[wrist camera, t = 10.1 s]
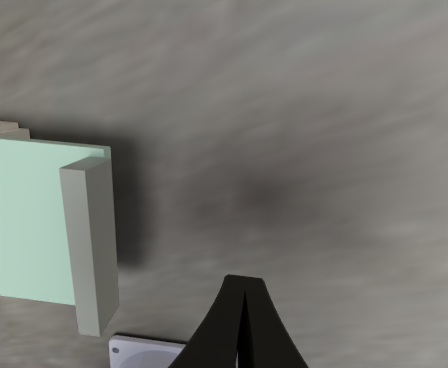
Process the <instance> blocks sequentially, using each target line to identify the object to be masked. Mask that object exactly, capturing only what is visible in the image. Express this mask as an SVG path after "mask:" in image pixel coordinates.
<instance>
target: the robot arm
mask: <svg viewBox="0 0 448 368" xmlns="http://www.w3.org/2000/svg"><path fill="white" fill-rule="evenodd" d="M237 351H238V368H309V367H308V366H307V364H306V363H305V361H304V360H303V358H302V356H301V355H300V353H299V352H298V350H297V348H296V346H295V345H294V343H293V341H292V340H291V338H290V336H289V334H288V333H287V331H286V329H285V327H284V325H283V323H282V321H281V319H280V317H279V315H278V313H277V311H276V309H275V307H274V305H273V303H272V300H271V298H270V296H269V293H268V291H267V288H266V285H265V282H264V281H263V279H262V278H254V277H246V276H238V275H229V274H228V275H226V276H225V278H224V281H223V284H222V287H221V289H220V291H219V293H218V295H217V297H216V299H215V301H214V303H213V305H212V306H211V308H210V310H209V312H208V313H207V315H206V317H205V318H204V320H203V321H202V323H201V324H200V326H199V327H198V329H197V330H196V332H195V333H194V335H193V336H192V338H191V339H190V340H189V342H188V343H187V344H186V345H184V344H177V343H170V342H162V341H155V340H148V339H141V338H133V337H126V336H119V335H114V336H112V337H111V339H110V341H109V355H110V368H236V358H237Z"/></svg>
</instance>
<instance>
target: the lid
mask: <svg viewBox="0 0 448 368" xmlns="http://www.w3.org/2000/svg"><path fill="white" fill-rule="evenodd" d="M0 295H2V296H9V297H17V298H24V299H32V300H40V301H47V302H55V303H62V304H70V305H75V306H76V314H77V322H78V330H79V334H83V335H90V336H97V337H100V336H101V334H102V332H103V331H104V329H105V328H106V326H107V324H108V323H109V321H110V319H111V318H112V316H113V315H114V313H115V311H116V310H117V308H118V306H119V288H118V271H117V254H116V236H115V219H114V201H113V184H112V167H111V149H110V146H100V145H89V144H79V143H69V142H58V141H48V140H37V139H27V138H16V137H6V136H0Z"/></svg>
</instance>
